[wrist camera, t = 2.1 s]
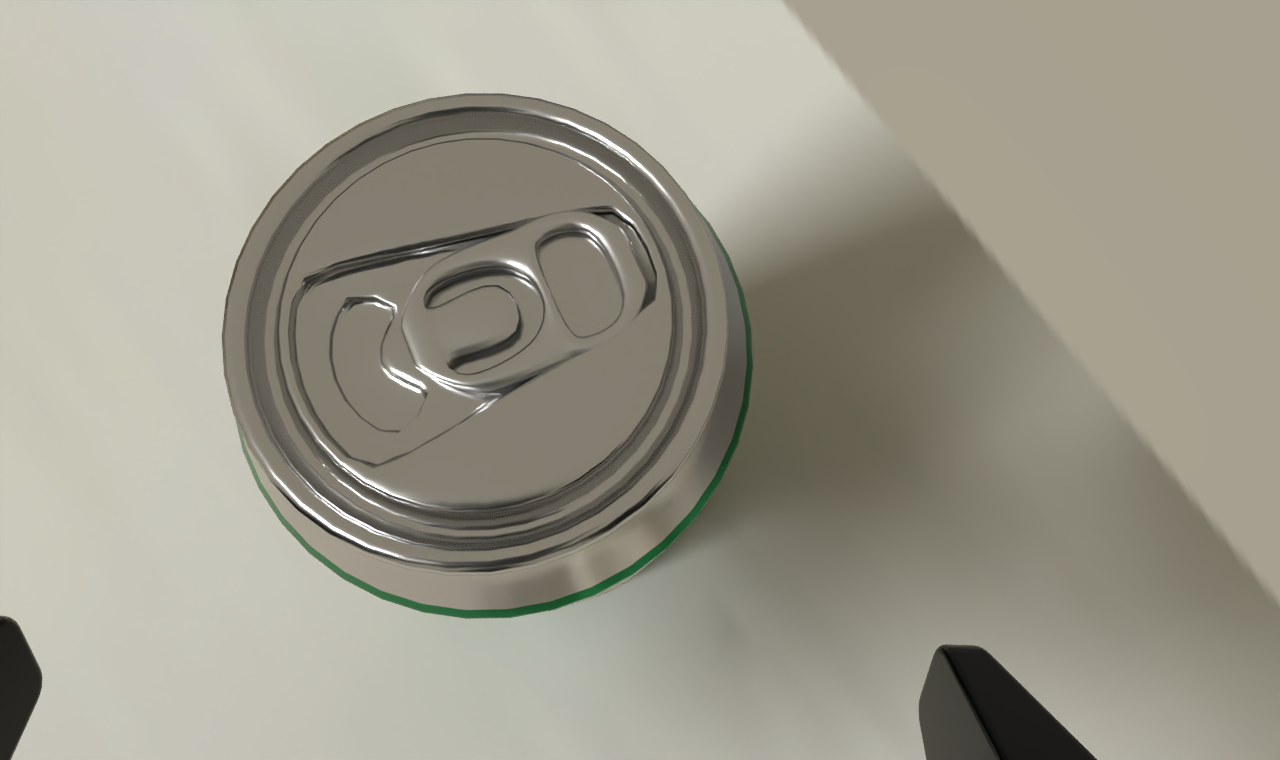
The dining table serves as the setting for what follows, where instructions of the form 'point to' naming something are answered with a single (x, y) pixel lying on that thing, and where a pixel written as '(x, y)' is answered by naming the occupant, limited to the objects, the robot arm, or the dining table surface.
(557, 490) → the soda can
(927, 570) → the dining table surface
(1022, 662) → the dining table surface
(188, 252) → the dining table surface
